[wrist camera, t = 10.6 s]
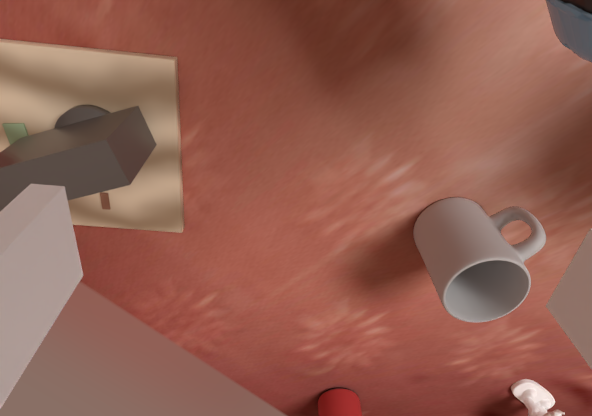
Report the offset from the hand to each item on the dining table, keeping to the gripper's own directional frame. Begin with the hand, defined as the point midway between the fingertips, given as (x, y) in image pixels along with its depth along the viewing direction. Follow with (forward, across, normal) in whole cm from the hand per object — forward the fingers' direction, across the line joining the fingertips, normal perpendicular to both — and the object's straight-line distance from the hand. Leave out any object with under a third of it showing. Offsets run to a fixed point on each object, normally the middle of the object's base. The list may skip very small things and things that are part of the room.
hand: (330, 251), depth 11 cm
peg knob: (+30, -20, -12) cm, 38 cm away
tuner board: (+32, -20, -12) cm, 40 cm away
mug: (+32, +21, -18) cm, 42 cm away
